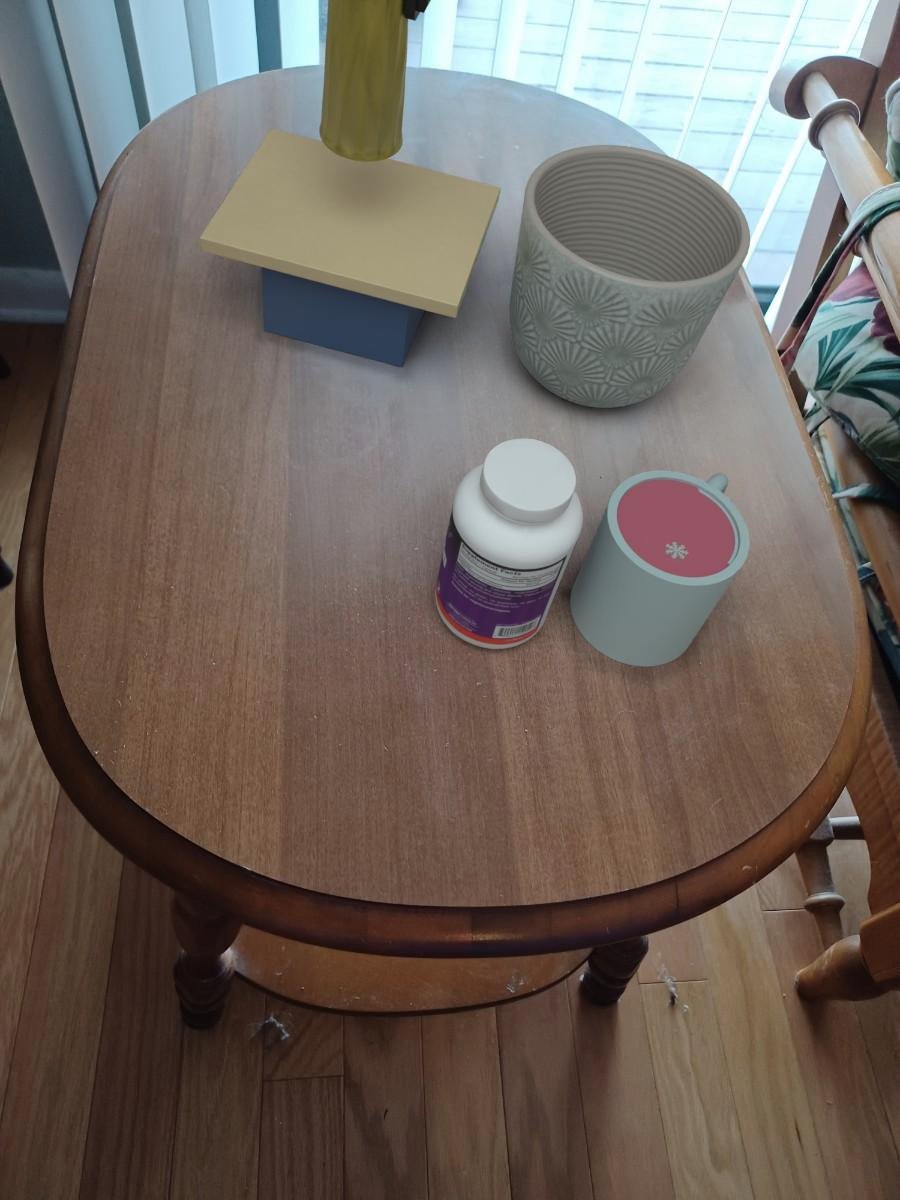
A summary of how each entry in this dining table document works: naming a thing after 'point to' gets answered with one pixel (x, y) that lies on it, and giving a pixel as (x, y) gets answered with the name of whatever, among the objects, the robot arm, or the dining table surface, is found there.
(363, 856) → the dining table surface
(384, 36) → the vase
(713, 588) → the mug
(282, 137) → the box
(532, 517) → the pill bottle
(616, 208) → the planter
